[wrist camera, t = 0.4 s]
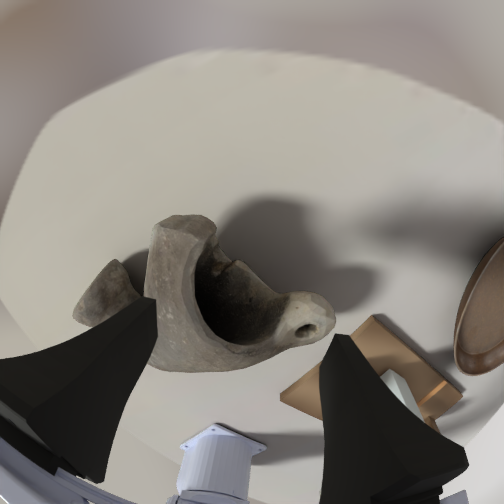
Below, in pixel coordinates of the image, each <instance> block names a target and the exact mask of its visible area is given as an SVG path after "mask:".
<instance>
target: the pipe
mask: <svg viewBox="0 0 504 504" xmlns="http://www.w3.org/2000/svg"><path fill="white" fill-rule="evenodd" d="M216 229H217V227H216V226H215V224H214V222H212V221H211V220H210V219H208V218H207V217H204V216H202V215H184V216H182V215H173V216H171V217H169V218H167V219H165V220H163V221H161V222H159V223H157V224H156V225H155V226H154V227H153V230H152V237H151V244H150V249H149V255H148V261H147V269H146V277H145V284H144V296H145V297H148V298H152V299H156V305H157V327H158V338H157V341H156V343H155V346H154V349H153V351H152V354H151V356H150V358H149V360H148V362H147V364H149V365H150V366H152V367H154V368H157V369H159V370H163V371H168V372H187V373H195V372H224V371H232V370H238V369H243V368H247V367H250V366H253V365H255V364H257V363H260V362H262V361H265V360H267V359H269V358H271V357H273V356H275V355H277V354H279V353H281V352H283V351H285V350H287V349H289V348H293V347H298V346H303V345H308V344H313V343H315V342H317V341H319V340H321V339H322V338H324V337H325V336H326V335H328V334H329V332H330V331H331V330H332V329H333V328H334V327H335V323H336V317H335V313H334V310H333V307H332V306H331V305H330V304H329V303H328V302H327V300H326V299H325V298H324V297H323V296H321V295H319V294H317V293H313V292H308V291H293V292H288V293H282V294H278V293H276V292H274V291H273V290H272V289H271V288H269V287H268V286H267V285H266V284H265V283H264V282H263V281H262V280H261V279H260V278H259V277H258V276H257V275H256V274H255V273H254V272H253V271H252V270H251V269H250V268H249V267H248V266H247V265H246V264H245V263H244V262H242V261H240V260H236V261H234V262H232V261H231V260H230V259H229V258H228V257H227V256H226V255H225V254H224V253H223V251H222V250H221V249H220V247H219V246H218V244H219V241H218V240H217V238H216V236H215V235H214V234H215V233H216ZM140 297H141V296H140V295H139V294H138V293H137V292H136V291H135V290H134V288H133V286H132V285H131V283H130V278H129V276H128V273H127V271H126V269H125V268H124V267H123V266H122V265H121V263H120V262H119V261H118V260H117V259H114V260H112V261H110V262H109V263H108V264H107V265H106V266H105V267H104V268H103V270H102V271H101V272H100V273H99V274H98V276H97V277H96V278H95V279H94V281H93V282H92V283H91V285H90V286H89V287H88V289H87V290H86V291H85V293H84V294H83V296H82V297H81V298H80V300H79V302H78V303H77V305H76V306H75V308H74V311H73V318H74V319H75V320H76V321H77V322H79V323H81V324H84V325H86V326H89V327H95V326H96V325H98V324H100V323H102V322H103V321H105V320H107V319H108V318H110V317H111V316H113V315H114V314H116V313H118V312H119V311H121V310H122V309H124V308H125V307H127V306H128V305H130V304H131V303H133V302H134V301H136V300H137V299H139V298H140Z"/></svg>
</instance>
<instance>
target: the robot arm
mask: <svg viewBox="0 0 504 504" xmlns="http://www.w3.org/2000/svg"><path fill="white" fill-rule="evenodd" d="M157 338H158V327H157V305H156V299H152V298H148V297H145V296H142V297H140V298H139V299H137V300H136V301H134V302H133V303H131V304H130V305H128V306H127V307H125V308H124V309H122V310H121V311H119V312H118V313H116V314H114V315H113V316H111V317H110V318H108V319H107V320H105V321H103V322H102V323H100V324H98V325H96V326H95V327H93V328H91V329H90V330H88V331H86V332H84V333H82V334H80V335H78V336H76V337H74V338H72V339H70V340H68V341H65V342H63V343H61V344H58V345H55V346H53V347H50V348H47V349H44V350H41V351H38V352H34V353H31V354H27V355H23V356H18V357H13V358H6V359H0V497H2V498H3V499H4V500H5V501H6V502H7V503H8V504H89V502H88V501H90V502H92V503H95V504H136V503H133V502H131V501H128V500H125V499H123V498H120V497H118V496H115V495H113V494H111V493H108V492H106V491H104V490H102V489H99V488H97V487H95V486H93V485H91V484H89V483H87V482H85V481H83V480H81V479H79V478H77V477H76V475H77V476H79V477H81V478H83V479H88V480H89V481H92V482H94V483H96V484H98V483H102V482H103V481H104V479H105V473H106V469H107V464H108V458H109V455H110V451H111V448H112V444H113V440H114V437H115V433H116V431H117V427H118V424H119V421H120V419H121V416H122V413H123V410H124V407H125V405H126V403H127V400H128V398H129V396H130V394H131V392H132V390H133V388H134V387H135V385H136V383H137V381H138V379H139V377H140V375H141V373H142V372H143V370H144V368H145V366H146V364H147V362H148V360H149V358H150V356H151V354H152V351H153V349H154V346H155V343H156V341H157ZM319 393H320V401H321V410H322V418H323V427H324V440H325V447H324V469H323V480H322V488H321V496H320V502H319V504H469V503H468V498H467V494H466V490H463V491H460V492H458V493H456V494H453V495H451V496H448V497H446V498H444V499H442V500H439V495H440V494H442V493H443V489H442V486H443V485H444V484H446V483H448V482H449V481H451V480H453V479H454V478H456V477H457V476H459V475H460V474H461V473H463V472H464V471H465V470H466V469H467V468H468V466H469V463H468V459H467V456H466V453H465V450H464V447H462V446H460V445H458V444H457V443H455V442H453V441H451V440H449V439H448V438H446V437H444V436H443V435H441V434H440V433H438V432H437V431H435V430H434V429H432V428H431V427H430V426H428V425H427V424H426V423H424V422H423V421H422V420H421V419H420V418H418V417H417V416H416V415H415V414H414V413H413V412H412V411H410V410H409V409H408V408H407V407H406V406H405V405H404V404H403V403H402V402H401V401H400V400H399V399H398V398H397V397H396V395H395V394H394V393H393V392H392V391H391V390H390V389H389V387H388V386H387V385H386V384H385V383H384V381H383V380H382V379H381V378H380V376H379V375H378V374H377V373H376V371H375V370H374V369H373V367H372V366H371V365H370V363H369V362H368V361H367V359H366V358H365V356H364V355H363V354H362V352H361V351H360V349H359V348H358V347H357V345H356V344H355V342H354V341H353V340H352V338H351V337H350V336H349V335H343V334H335V335H334V337H333V339H332V342H331V344H330V346H329V348H328V350H327V352H326V354H325V356H324V358H323V360H322V362H321V364H320V366H319ZM180 448H181V449H182V450H185V454H184V458H183V461H182V464H181V468H180V472H179V475H178V478H177V490H178V492H179V494H180V496H179V495H173V496H172V497H170V498H168V500H167V502H166V504H249V503H250V502H249V501H247V498H248V488H249V479H250V469H251V459H252V456H254V455H256V454H258V453H260V452H262V451H264V450H266V449H267V446H266V445H263V444H261V443H258V442H256V441H253V440H251V439H249V438H246V437H244V436H242V435H239V434H237V433H235V432H233V431H231V430H228V429H226V428H224V427H222V426H220V425H218V424H213V425H211V426H210V427H208V428H207V429H205V430H204V431H202V432H201V433H199V434H198V435H196V436H194V437H193V438H191V439H190V440H188V441H186V442H185V443H183V444H181V445H180ZM87 500H88V501H87Z"/></svg>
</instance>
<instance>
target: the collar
mask: <svg viewBox="0 0 504 504" xmlns="http://www.w3.org/2000/svg"><path fill="white" fill-rule="evenodd" d="M380 378H381V379H382V380H383V381H384V383H385V384H386V385H387V386H388V387H389V389H390V390H391V391H392V392H393V393H394V394H395V395H396V397H397V398H398V399H399V400H400V401H401V402H402V403H403V404H404V405H405V406H406V407H407V408H408V409H409V410H410V411H412V412H413V413H414V414H415V415H416V416H417V417H418V418H420V419H421V420H422V421H423V422H424V419H423V417H422V415H421V413H420V410H419V408H418V406H417V404H416V402H415V399H414V397H413V395H412V393H411V391H410V389H409V387H408V385H407V382H406V380H405V379H404V378H402V377H401V376H400V375H398V374H397V373H395V372H394V371H392V370H391V369H389V370H388V371H386V372H385V373H384V374H383V375H382V376H380ZM424 423H425V422H424Z"/></svg>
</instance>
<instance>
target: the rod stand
mask: <svg viewBox="0 0 504 504" xmlns="http://www.w3.org/2000/svg"><path fill="white" fill-rule="evenodd" d="M350 337H351V338H352V340H353V341H354V342H355V344H356V345H357V347H358V348H359V349H360V351H361V352H362V354H363V355H364V356H365V358H366V359H367V361H368V362H369V363H370V365H371V366H372V367H373V369H374V370H375V371H376V373H377V374H378V375H379V376H382V375H383V374H384V373H385V372H386V371H388V370H389V369H391V370H392V371H394V372H395V373H397V374H398V375H400V376H401V377H402V378H404V379H405V380H406V382H407V385H408V387H409V389H410V391H411V393H412V395H413V397H414V399H415V402H416V404H417V406H418V408H419V410H420V413H421V415H422V417H423V419H424V422H425V423H426V424H427V425H428V426H430V427H431V428H432V429H434V430H435V431H437V432H438V433H440V431H439V429H438V427H437V425H436V422H435V420H436V419H437V418H438V417H440V416H441V415H442V414H443V413H445V412H446V411H447V410H448V409H449V408H451V407H452V406H453V405H454V404H455V403H457V402H458V401H459V400H460V399H461V398H462V397H463V395H462V394H461V392H460V391H459V390H458V389H457V388H456V387H454V386H453V385H452V384H451V383H450V382H449V381H448V380H447V379H445V378H444V377H443V376H442V375H441V374H440V373H439V372H438V371H436V370H435V369H434V368H433V367H432V366H431V365H430V364H428V363H427V362H426V361H425V360H424V359H423V358H422V357H420V356H419V355H418V354H417V353H416V352H415V351H413V350H412V349H411V348H410V347H409V346H408V345H406V344H405V343H404V342H403V341H402V340H401V339H399V338H398V337H397V336H396V335H395V334H394V333H392V332H391V331H390V330H389V329H388V328H386V327H385V326H384V325H383V324H382V323H381V322H379V321H378V320H377V319H376V318H375V317H373V316H372V315H371V316H370V317H369V318H368V319H367V320H366V321H365V322H364V323H363V324H362V325H361V326H360V327H359V328H358V329H357V330H356V331H355V332H354V333H353V334H351V335H350ZM321 362H322V361H321ZM321 362H320V363H319V364H317V365H316V366H315V367H314V368H313V369H311V370H310V371H309V372H308V373H306V374H305V375H304V376H303V377H301V378H300V379H299V380H298V381H296V382H295V383H294V384H292V385H291V386H290V387H289V388H287V389H286V390H285V391H283V392H282V393H281V394H280V401H281V402H283V403H285V404H287V405H289V406H291V407H294V408H296V409H298V410H300V411H302V412H304V413H306V414H308V415H311V416H313V417H315V418H317V419H320V420H322V421H323V418H322V410H321V401H320V393H319V366H320V364H321ZM440 434H441V433H440Z"/></svg>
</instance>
